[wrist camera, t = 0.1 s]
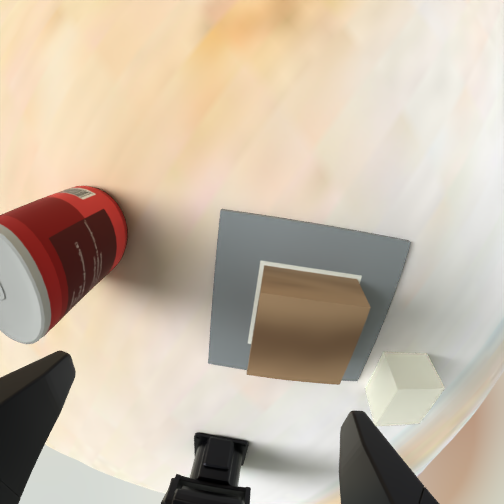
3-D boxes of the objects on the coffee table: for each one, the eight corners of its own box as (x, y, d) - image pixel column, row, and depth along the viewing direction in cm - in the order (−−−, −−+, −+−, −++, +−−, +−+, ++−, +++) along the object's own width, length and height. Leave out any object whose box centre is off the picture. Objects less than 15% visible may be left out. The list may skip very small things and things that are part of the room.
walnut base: (333, 351, 24) (339, 384, 20) (251, 341, 24) (246, 374, 21) (357, 279, 21) (370, 307, 18) (264, 265, 22) (260, 292, 18)
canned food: (45, 213, 22) (-45, 260, 12) (99, 163, 20) (-9, 196, 10) (87, 284, 25) (13, 356, 14) (148, 247, 23) (67, 327, 12)
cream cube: (406, 388, 26) (419, 423, 22) (364, 388, 26) (374, 426, 22) (426, 352, 24) (444, 388, 20) (383, 351, 24) (397, 389, 20)
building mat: (356, 378, 26) (357, 381, 25) (209, 360, 26) (208, 363, 26) (408, 240, 20) (411, 242, 20) (221, 209, 21) (220, 210, 20)
